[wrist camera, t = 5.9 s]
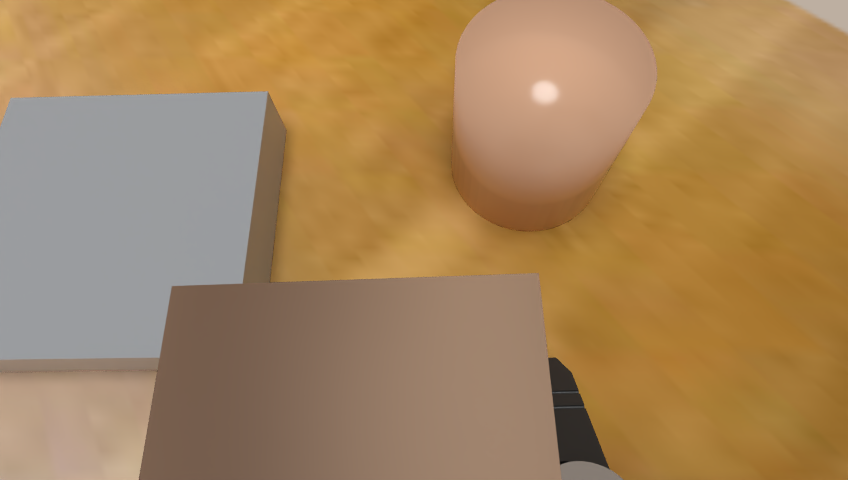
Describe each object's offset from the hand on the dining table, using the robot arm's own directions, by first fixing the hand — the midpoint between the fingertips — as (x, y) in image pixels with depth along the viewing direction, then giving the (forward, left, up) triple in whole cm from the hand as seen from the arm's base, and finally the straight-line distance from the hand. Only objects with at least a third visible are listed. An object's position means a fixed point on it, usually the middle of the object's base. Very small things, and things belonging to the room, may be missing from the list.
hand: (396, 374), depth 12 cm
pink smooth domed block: (-5, -9, -7) cm, 12 cm away
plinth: (+10, -6, -7) cm, 14 cm away
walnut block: (0, +2, -4) cm, 5 cm away
